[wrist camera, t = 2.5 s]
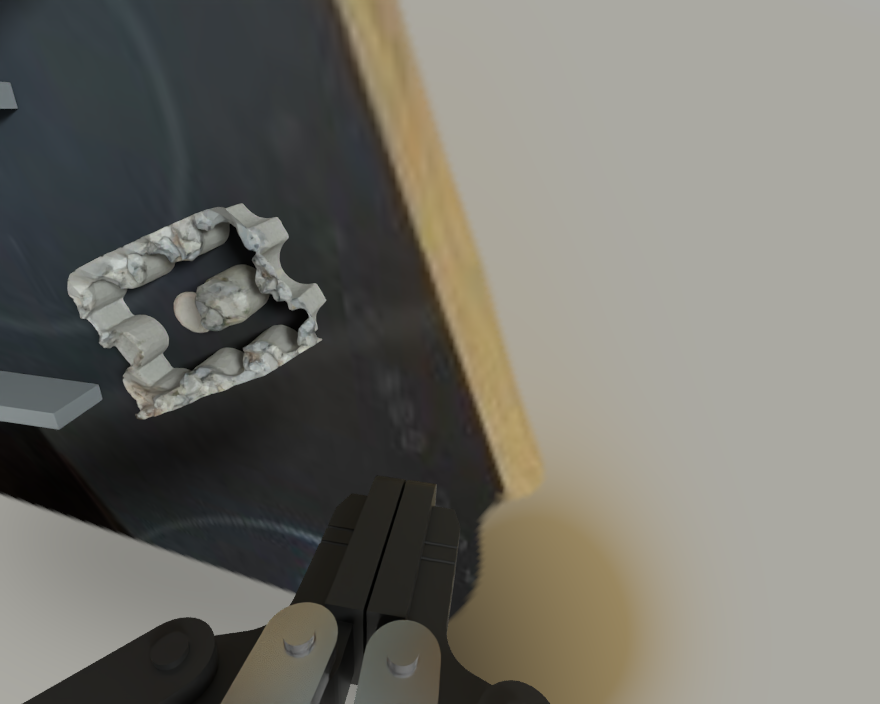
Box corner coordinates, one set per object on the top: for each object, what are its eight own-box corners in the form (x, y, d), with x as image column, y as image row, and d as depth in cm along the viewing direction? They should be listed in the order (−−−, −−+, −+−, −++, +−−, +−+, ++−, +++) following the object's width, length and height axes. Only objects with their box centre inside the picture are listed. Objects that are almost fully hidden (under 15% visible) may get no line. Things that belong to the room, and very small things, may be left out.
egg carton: (184, 386, 27) (132, 428, 24) (99, 262, 24) (26, 289, 21) (348, 331, 24) (317, 370, 20) (272, 182, 21) (221, 197, 18)
